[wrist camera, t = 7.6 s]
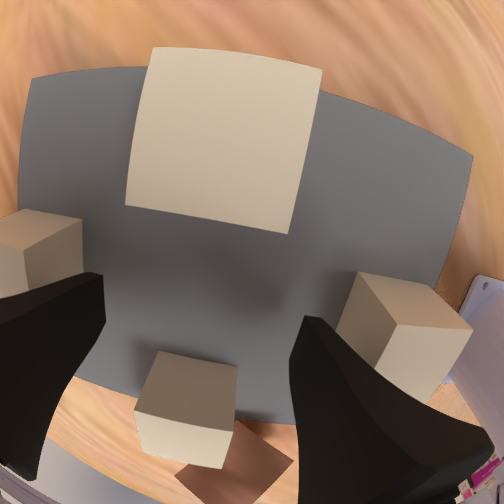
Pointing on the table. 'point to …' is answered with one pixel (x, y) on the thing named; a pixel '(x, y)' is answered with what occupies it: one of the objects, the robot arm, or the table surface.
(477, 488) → the candy bar box
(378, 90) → the table surface
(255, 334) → the puzzle board
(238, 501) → the terracotta block
